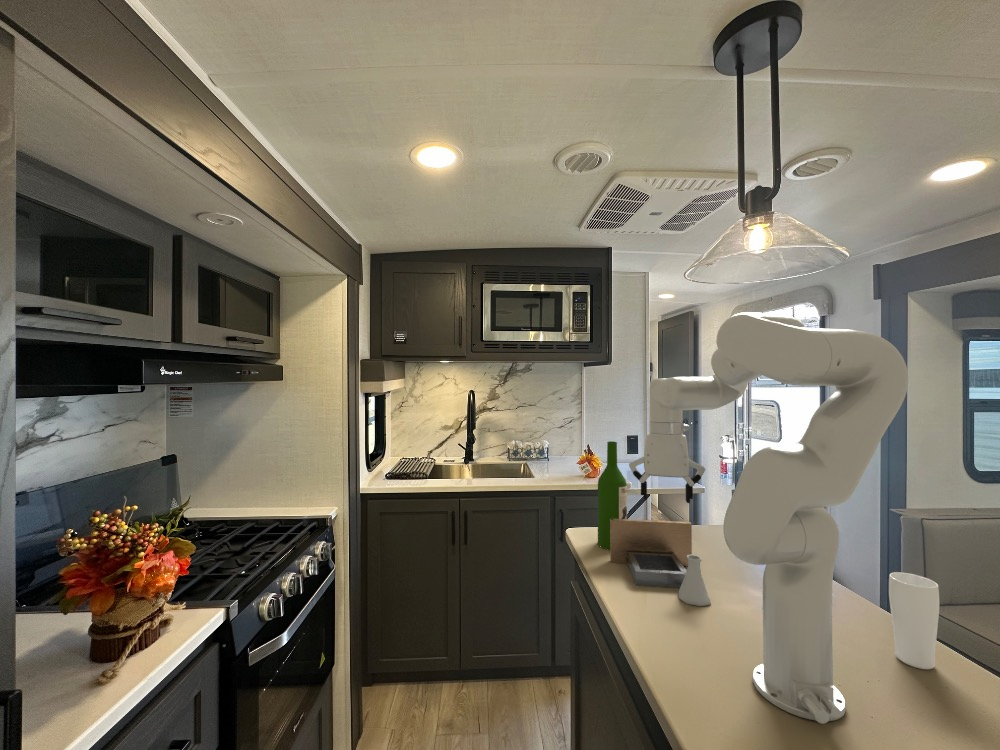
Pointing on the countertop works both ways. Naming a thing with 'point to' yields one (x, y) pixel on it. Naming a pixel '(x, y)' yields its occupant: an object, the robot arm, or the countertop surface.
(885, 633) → the countertop surface
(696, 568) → the flask
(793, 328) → the robot arm
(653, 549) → the cup bracket
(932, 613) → the drinking glass
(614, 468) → the wine bottle
